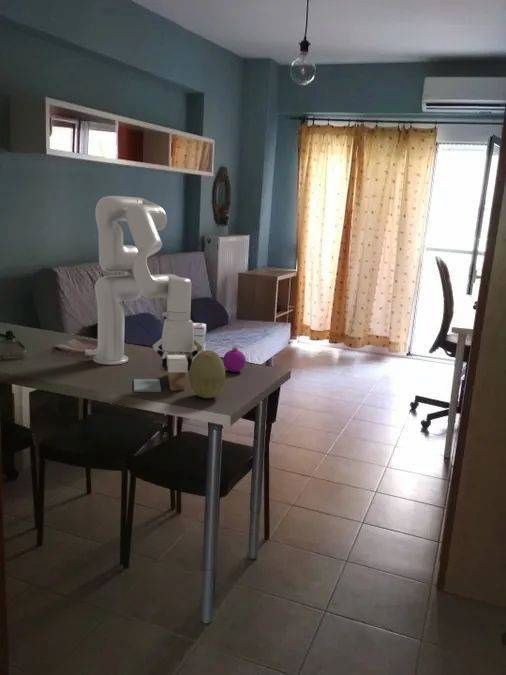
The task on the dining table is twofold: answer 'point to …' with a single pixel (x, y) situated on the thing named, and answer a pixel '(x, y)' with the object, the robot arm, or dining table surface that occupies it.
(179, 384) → the housing
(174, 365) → the cover
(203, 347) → the syrup box
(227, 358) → the christmas ornament
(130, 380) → the dining table surface
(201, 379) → the fruit
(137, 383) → the mat
